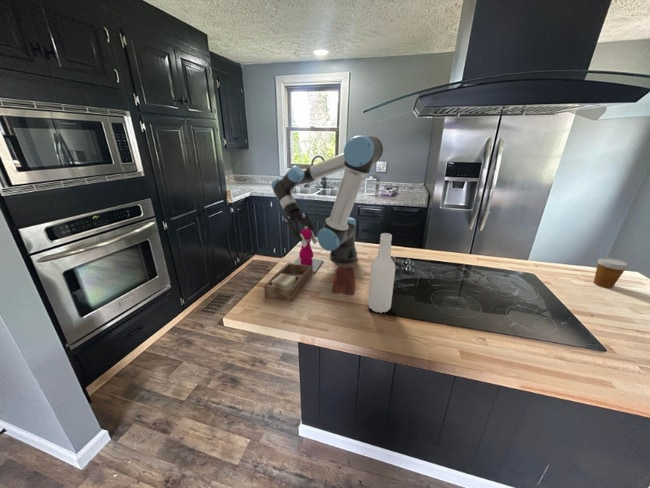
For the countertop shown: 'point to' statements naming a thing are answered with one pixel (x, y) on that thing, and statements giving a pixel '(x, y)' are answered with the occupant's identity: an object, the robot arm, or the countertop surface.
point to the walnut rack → (296, 288)
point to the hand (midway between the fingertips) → (310, 244)
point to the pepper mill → (306, 252)
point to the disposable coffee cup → (609, 271)
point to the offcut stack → (284, 281)
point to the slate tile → (315, 264)
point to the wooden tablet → (344, 281)
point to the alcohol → (382, 277)
